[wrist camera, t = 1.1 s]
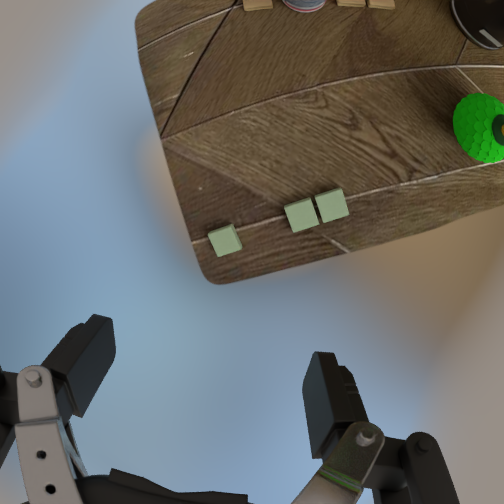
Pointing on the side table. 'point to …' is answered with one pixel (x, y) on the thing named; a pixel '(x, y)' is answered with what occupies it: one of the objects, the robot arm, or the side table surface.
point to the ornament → (480, 127)
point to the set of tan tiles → (374, 0)
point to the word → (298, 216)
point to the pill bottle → (304, 5)
